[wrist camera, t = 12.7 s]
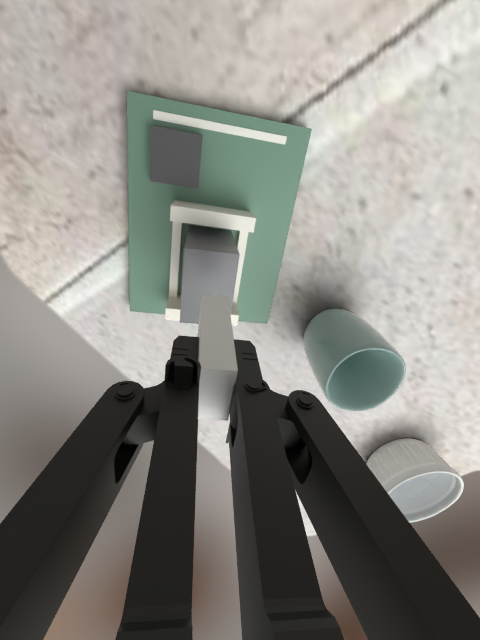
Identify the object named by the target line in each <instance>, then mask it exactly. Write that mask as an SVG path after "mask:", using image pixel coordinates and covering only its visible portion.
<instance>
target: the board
mask: <svg viewBox="0 0 480 640" xmlns="http://www.w3.org/2000/svg"><path fill="white" fill-rule="evenodd" d="M311 130H312V129H310V128H305V127H300V126H295V125H290V124H286V123H281V122H276V121H271V120H266V119H261V118H257V117H252V116H247V115H242V114H237V113H232V112H228V111H223V110H218V109H213V108H208V107H203V106H199V105H194V104H189V103H184V102H179V101H174V100H170V99H165V98H160V97H155V96H150V95H145V94H141V93H136V92H131V91H127V142H128V214H129V287H130V311H135V312H145V313H156V314H165V320H176V321H180V308H181V290H182V273H183V255H184V246H185V241H186V237H187V233H188V229H189V225H191V226H198V227H206V228H214V229H222V230H230V231H232V234H233V237H234V239H235V242H236V245H237V248H238V251H239V254H240V256H239V263H238V270H237V277H236V284H235V291H234V297H233V304H232V311H231V323H232V326H237V324H238V321H243V322H254V323H265V324H267V322H268V317H269V313H270V309H271V304H272V300H273V296H274V291H275V287H276V283H277V278H278V274H279V269H280V265H281V261H282V256H283V252H284V248H285V243H286V239H287V234H288V230H289V226H290V221H291V217H292V213H293V208H294V204H295V200H296V195H297V191H298V186H299V182H300V178H301V173H302V169H303V165H304V160H305V156H306V152H307V147H308V143H309V138H310V134H311Z"/></svg>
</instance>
